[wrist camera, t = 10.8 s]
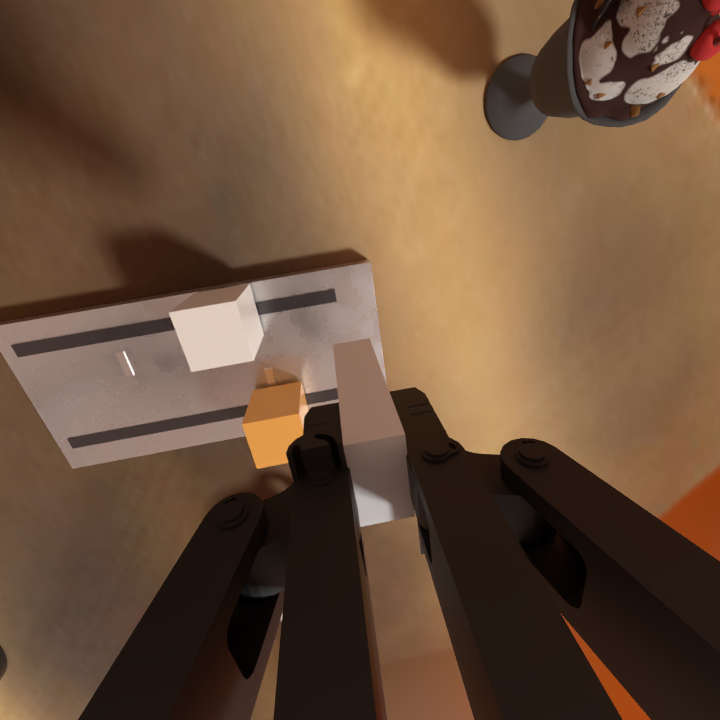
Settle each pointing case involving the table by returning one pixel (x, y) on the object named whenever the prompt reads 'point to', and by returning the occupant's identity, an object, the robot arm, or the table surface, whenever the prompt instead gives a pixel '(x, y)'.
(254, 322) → the block
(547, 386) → the table surface
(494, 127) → the sundae
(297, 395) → the fader
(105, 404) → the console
